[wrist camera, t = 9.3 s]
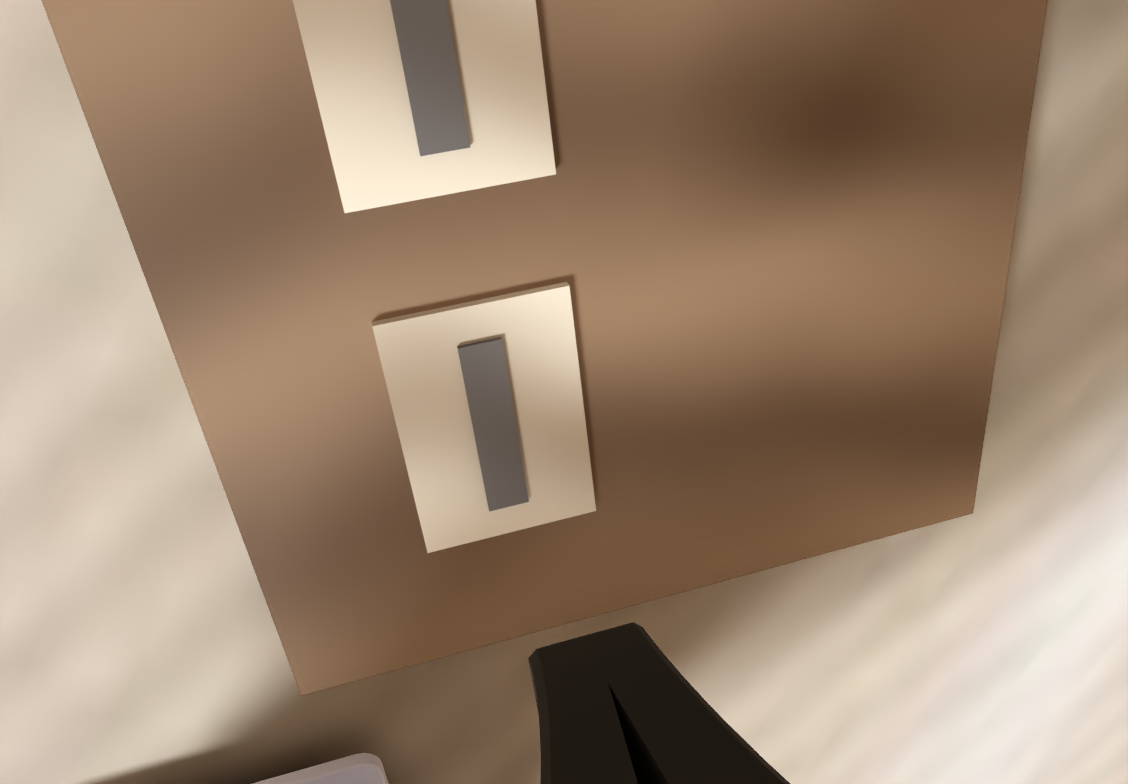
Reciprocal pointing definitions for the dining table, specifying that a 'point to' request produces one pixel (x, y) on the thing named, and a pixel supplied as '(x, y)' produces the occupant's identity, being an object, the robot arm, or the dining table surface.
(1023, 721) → the dining table surface
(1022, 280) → the dining table surface
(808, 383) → the label board
